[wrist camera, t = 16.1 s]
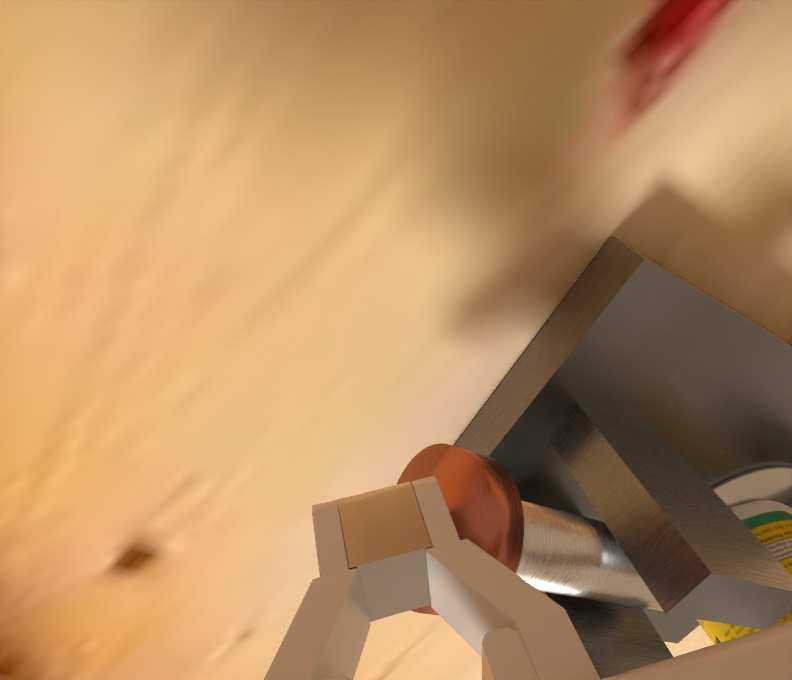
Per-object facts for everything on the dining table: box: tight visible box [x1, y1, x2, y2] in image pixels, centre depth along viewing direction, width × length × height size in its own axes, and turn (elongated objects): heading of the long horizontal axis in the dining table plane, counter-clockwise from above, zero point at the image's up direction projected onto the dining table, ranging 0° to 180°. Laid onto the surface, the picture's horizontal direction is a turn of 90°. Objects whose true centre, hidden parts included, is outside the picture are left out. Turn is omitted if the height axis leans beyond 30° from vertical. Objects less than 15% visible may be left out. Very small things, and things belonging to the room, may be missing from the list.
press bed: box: [454, 236, 792, 680], centre depth 18 cm, size 17×14×8 cm
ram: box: [397, 444, 663, 615], centre depth 15 cm, size 13×4×4 cm, turn 59°
